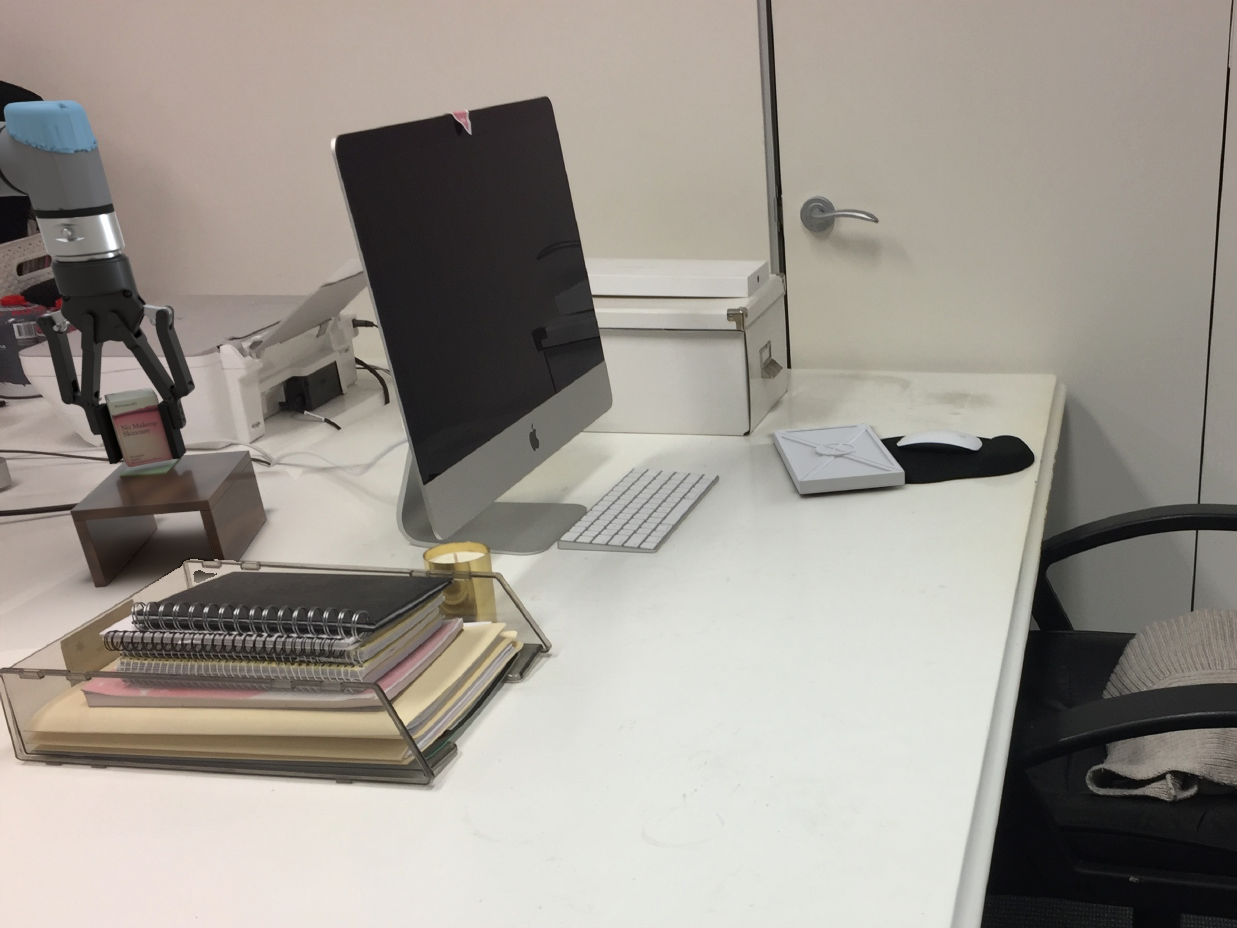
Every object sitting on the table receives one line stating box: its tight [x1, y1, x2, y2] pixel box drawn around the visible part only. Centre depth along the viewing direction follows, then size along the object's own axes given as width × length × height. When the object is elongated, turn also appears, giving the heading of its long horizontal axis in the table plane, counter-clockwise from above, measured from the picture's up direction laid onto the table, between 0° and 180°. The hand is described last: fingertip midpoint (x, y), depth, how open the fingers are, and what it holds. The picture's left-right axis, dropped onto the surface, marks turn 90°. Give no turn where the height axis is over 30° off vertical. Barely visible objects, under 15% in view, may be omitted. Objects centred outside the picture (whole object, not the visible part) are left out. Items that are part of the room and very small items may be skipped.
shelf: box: [69, 449, 268, 588], centre depth 144 cm, size 14×18×9 cm
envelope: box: [772, 422, 906, 495], centre depth 168 cm, size 24×2×14 cm
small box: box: [103, 387, 173, 467], centre depth 144 cm, size 5×4×8 cm
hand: (148, 457), depth 145 cm, fingers closed on small box, 6 cm apart
